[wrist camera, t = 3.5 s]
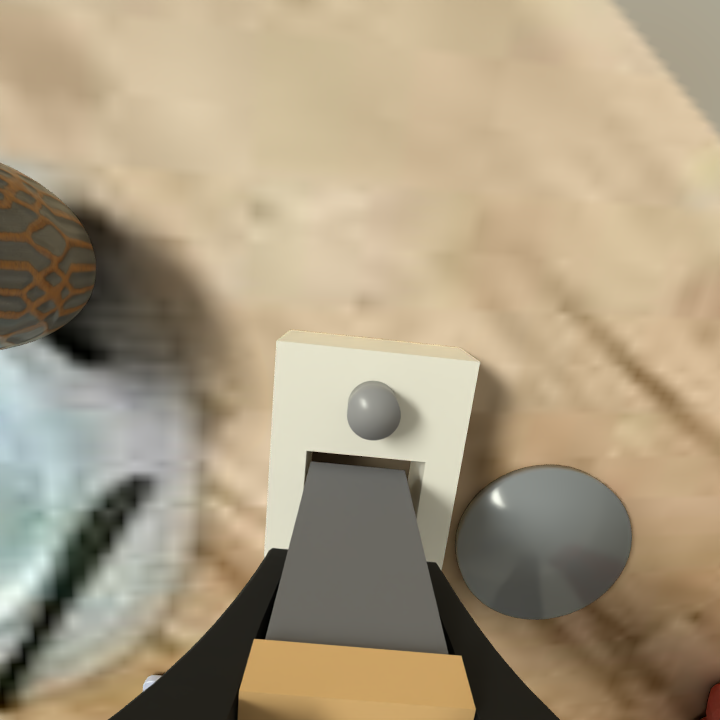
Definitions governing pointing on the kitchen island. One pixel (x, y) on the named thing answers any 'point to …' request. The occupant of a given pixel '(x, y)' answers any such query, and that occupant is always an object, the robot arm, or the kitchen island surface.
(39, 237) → the vase
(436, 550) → the switch plate
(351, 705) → the plug
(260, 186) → the kitchen island surface
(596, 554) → the coaster
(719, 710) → the vegetable
